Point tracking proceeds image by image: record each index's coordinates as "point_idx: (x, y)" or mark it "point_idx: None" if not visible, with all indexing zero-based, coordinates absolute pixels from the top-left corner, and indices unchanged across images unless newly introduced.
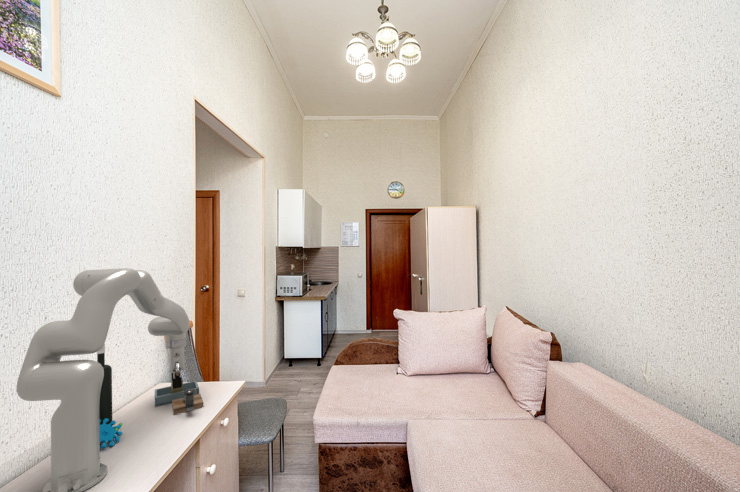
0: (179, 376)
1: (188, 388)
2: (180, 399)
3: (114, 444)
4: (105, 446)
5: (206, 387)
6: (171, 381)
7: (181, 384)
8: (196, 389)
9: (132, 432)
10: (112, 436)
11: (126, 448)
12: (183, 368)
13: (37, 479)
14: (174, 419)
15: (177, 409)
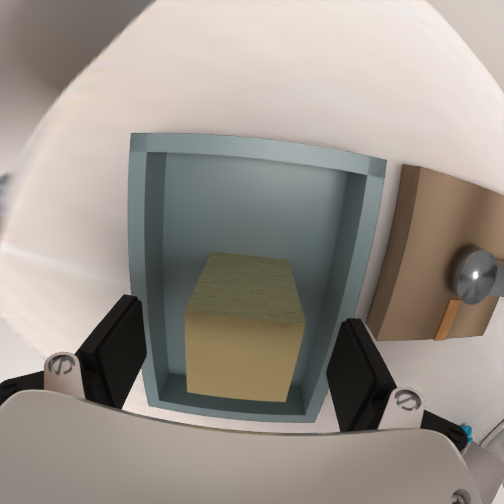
0: (435, 417)
1: (162, 199)
2: (409, 300)
3: (471, 428)
4: (471, 438)
5: (194, 68)
6: (216, 395)
7: (365, 332)
8: (381, 181)
9: (451, 413)
10: None
11: (499, 402)
12: (461, 458)
13: None
14: (497, 319)
15: (487, 318)
